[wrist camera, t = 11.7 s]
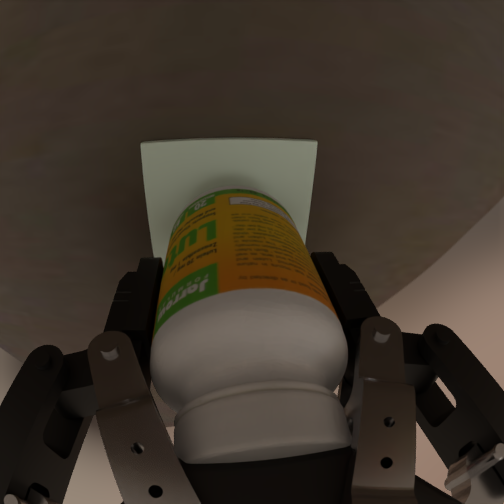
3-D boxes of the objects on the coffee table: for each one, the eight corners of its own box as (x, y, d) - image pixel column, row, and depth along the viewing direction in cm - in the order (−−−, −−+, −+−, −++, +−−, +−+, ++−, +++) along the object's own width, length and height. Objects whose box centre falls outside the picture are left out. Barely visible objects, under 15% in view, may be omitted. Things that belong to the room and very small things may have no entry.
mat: (142, 141, 13) (140, 143, 13) (314, 139, 14) (317, 141, 13) (159, 281, 17) (159, 286, 17) (297, 276, 18) (299, 280, 18)
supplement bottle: (201, 160, 11) (187, 405, 3) (317, 214, 13) (431, 418, 5) (154, 266, 14) (123, 484, 6) (257, 301, 16) (295, 494, 8)
